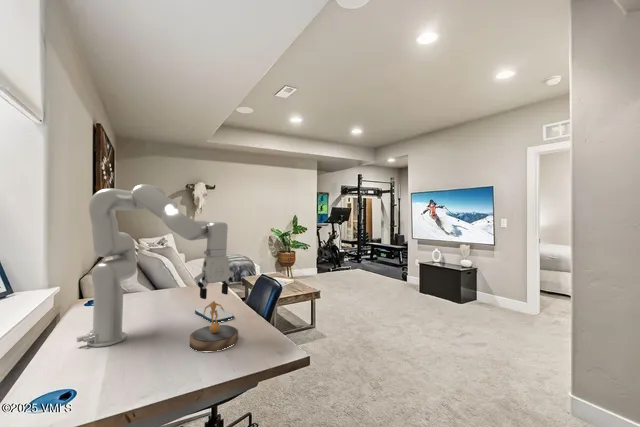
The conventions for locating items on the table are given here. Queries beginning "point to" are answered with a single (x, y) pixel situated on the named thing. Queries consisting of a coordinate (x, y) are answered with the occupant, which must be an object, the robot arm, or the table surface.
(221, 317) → the external hard drive
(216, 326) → the figurine
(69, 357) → the table surface
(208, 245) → the robot arm
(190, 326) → the table surface
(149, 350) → the table surface
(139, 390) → the table surface
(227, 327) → the walnut stand
